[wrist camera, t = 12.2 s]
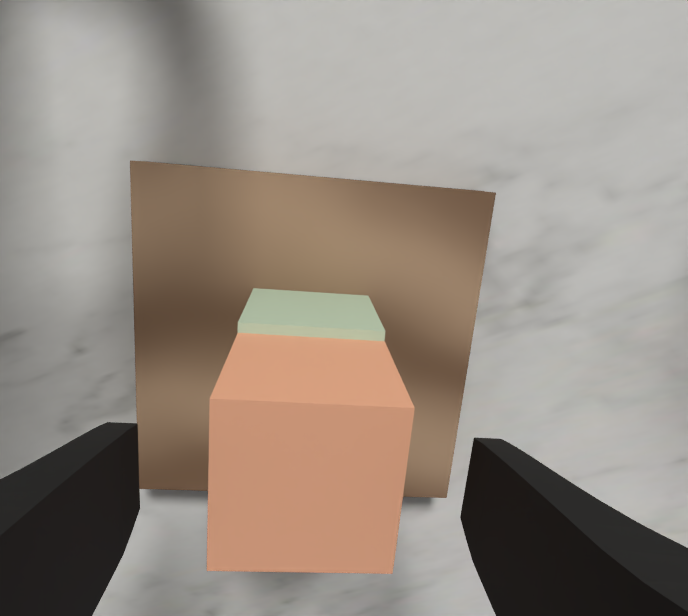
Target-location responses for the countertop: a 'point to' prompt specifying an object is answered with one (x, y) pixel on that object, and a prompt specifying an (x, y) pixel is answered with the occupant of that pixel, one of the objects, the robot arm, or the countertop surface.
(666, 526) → the countertop surface
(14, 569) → the robot arm
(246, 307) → the sage block
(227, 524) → the terracotta block
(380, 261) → the walnut base
